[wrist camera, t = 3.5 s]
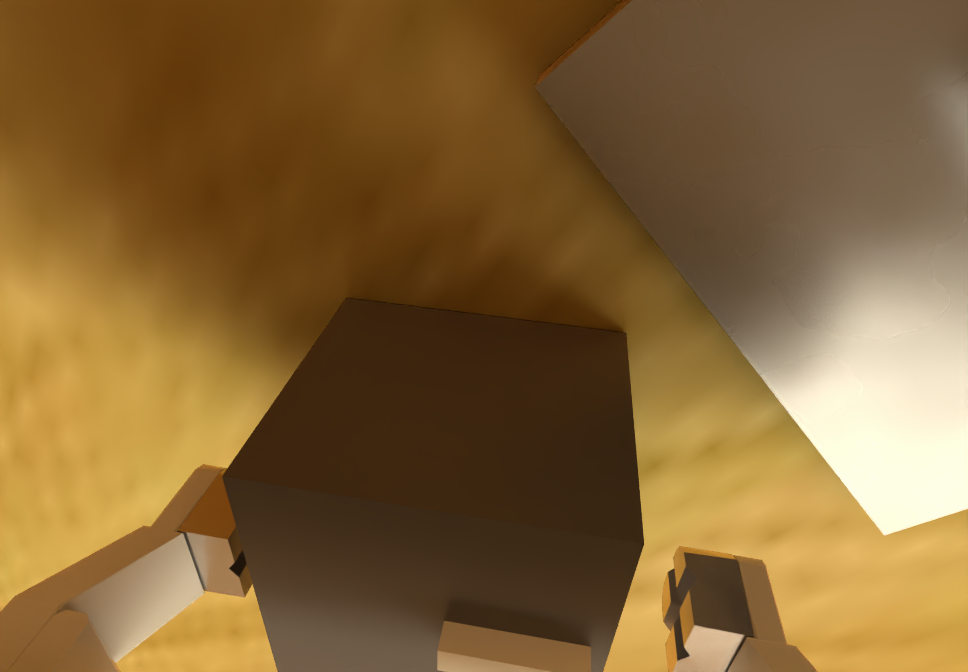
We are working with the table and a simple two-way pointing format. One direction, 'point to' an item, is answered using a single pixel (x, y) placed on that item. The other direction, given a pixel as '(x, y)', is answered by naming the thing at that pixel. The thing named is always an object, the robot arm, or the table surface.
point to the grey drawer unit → (443, 496)
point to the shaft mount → (806, 209)
